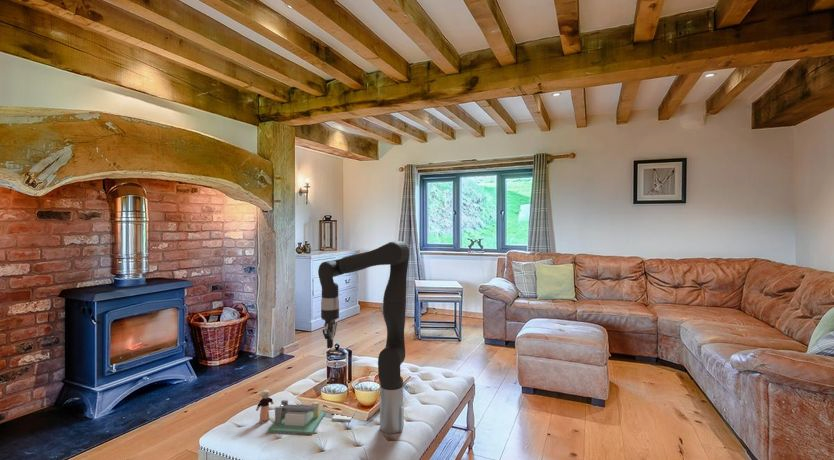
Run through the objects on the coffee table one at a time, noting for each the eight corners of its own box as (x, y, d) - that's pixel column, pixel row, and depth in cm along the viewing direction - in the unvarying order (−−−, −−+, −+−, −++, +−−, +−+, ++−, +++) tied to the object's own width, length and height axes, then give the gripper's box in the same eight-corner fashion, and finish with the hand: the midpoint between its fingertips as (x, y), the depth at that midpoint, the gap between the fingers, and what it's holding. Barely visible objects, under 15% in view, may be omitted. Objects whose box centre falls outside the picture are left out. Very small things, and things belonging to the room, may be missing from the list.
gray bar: (317, 408, 160) (317, 403, 160) (313, 413, 156) (313, 408, 156) (281, 407, 162) (281, 402, 162) (277, 412, 158) (277, 406, 158)
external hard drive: (358, 408, 173) (350, 423, 160) (340, 407, 174) (331, 421, 161) (358, 405, 173) (350, 419, 160) (340, 404, 174) (331, 417, 161)
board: (325, 414, 166) (325, 396, 166) (312, 434, 150) (312, 415, 150) (285, 412, 168) (285, 395, 168) (267, 432, 152) (267, 413, 152)
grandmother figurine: (261, 425, 157) (261, 394, 157) (254, 423, 159) (254, 392, 158) (276, 416, 164) (275, 387, 164) (269, 414, 166) (269, 385, 165)
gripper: (333, 311, 158) (333, 353, 159) (343, 304, 171) (342, 343, 172) (316, 310, 159) (316, 352, 159) (326, 303, 172) (326, 342, 172)
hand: (330, 347), depth 166 cm, fingers closed
